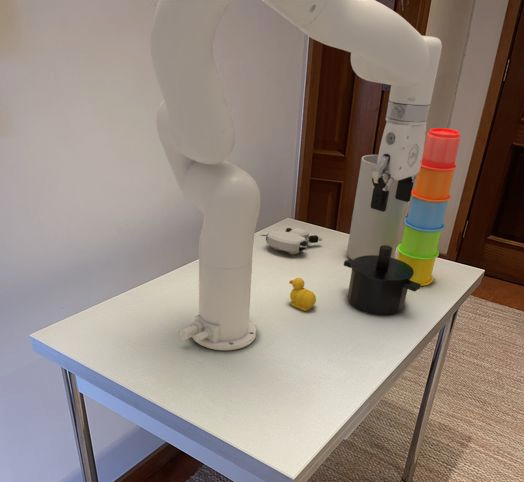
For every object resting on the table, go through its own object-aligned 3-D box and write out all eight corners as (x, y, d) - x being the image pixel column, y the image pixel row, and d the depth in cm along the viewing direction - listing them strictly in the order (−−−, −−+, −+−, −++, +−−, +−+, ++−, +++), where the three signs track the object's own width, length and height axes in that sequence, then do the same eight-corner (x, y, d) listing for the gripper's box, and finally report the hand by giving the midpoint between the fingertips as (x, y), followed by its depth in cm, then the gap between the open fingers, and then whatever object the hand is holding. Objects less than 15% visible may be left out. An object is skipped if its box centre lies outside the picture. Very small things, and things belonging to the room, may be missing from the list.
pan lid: (393, 291, 106) (398, 265, 103) (338, 270, 114) (342, 245, 111) (423, 273, 115) (429, 249, 112) (371, 255, 122) (375, 231, 119)
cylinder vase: (402, 259, 141) (423, 163, 128) (375, 271, 133) (395, 169, 120) (364, 245, 148) (381, 152, 135) (336, 255, 140) (351, 158, 127)
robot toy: (285, 238, 152) (257, 249, 140) (287, 222, 149) (259, 232, 138) (323, 248, 146) (297, 261, 135) (326, 232, 144) (300, 243, 133)
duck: (318, 308, 114) (321, 282, 111) (307, 313, 112) (310, 288, 108) (294, 297, 118) (296, 272, 114) (283, 302, 115) (285, 277, 112)
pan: (396, 326, 109) (404, 291, 105) (326, 297, 119) (331, 264, 115) (424, 307, 118) (432, 274, 113) (356, 281, 127) (362, 250, 123)
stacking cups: (441, 283, 129) (481, 133, 111) (407, 289, 125) (443, 134, 107) (414, 267, 137) (448, 124, 119) (382, 271, 133) (412, 125, 115)
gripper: (402, 120, 90) (384, 218, 99) (446, 112, 101) (426, 201, 110) (365, 114, 94) (351, 209, 103) (411, 106, 105) (395, 192, 114)
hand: (390, 204), depth 107 cm, fingers open, 9 cm apart
